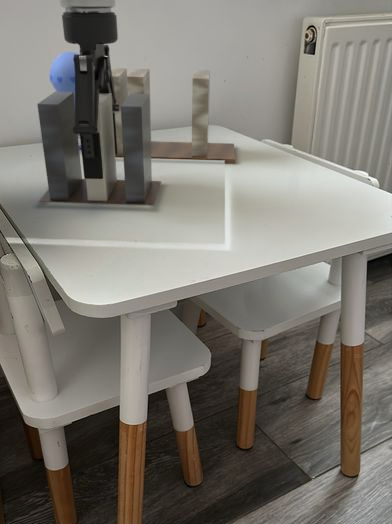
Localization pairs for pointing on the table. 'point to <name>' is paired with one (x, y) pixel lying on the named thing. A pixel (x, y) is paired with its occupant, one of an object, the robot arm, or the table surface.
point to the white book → (104, 152)
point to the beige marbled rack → (200, 119)
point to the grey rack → (68, 157)
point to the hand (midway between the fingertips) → (102, 165)
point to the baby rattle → (63, 73)
